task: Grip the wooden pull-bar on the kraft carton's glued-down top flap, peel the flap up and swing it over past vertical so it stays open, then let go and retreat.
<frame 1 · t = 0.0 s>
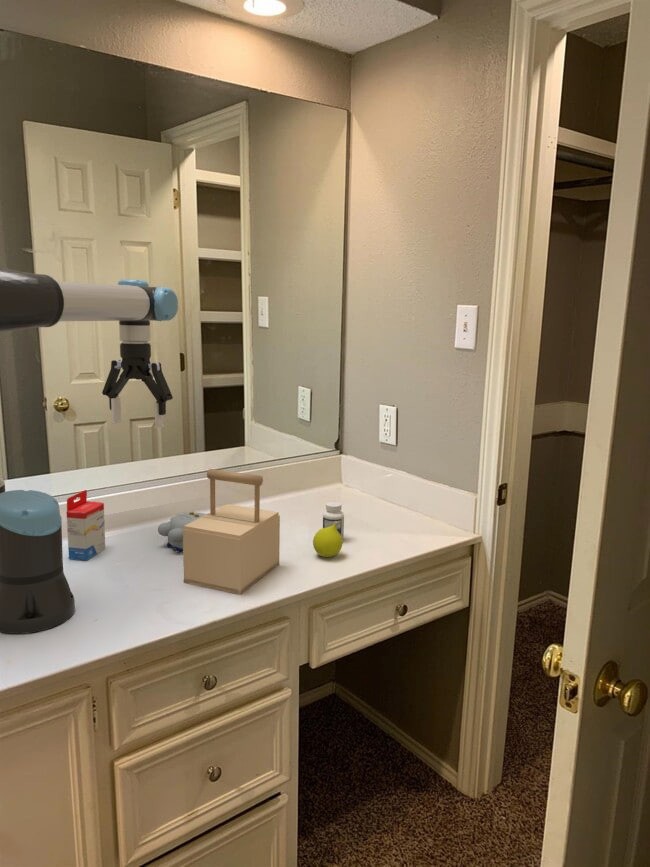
hand: (137, 425, 169), 28 cm above the worktop, fingers open, 13 cm apart
pill bottle: (332, 540, 170), on the worktop
ornament: (327, 557, 159), on the worktop
carton: (233, 573, 147), on the worktop
ink box: (87, 554, 156), on the worktop
figurine: (201, 544, 165), on the worktop
flap: (242, 493, 147), point 18 cm above the worktop, hinge at 0.0°
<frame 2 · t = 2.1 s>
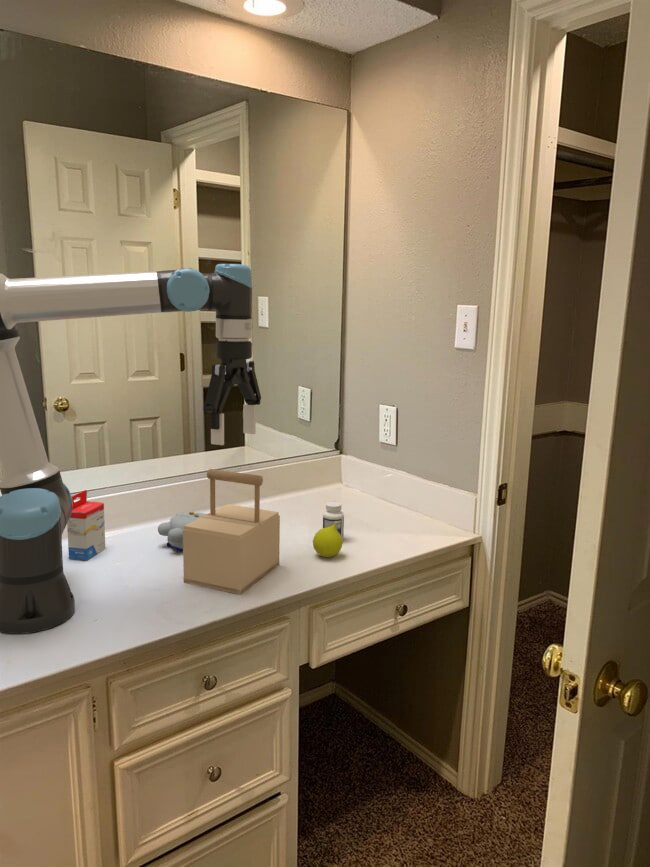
hand: (234, 438, 142), 31 cm above the worktop, fingers open, 13 cm apart
nothing on the worktop moved.
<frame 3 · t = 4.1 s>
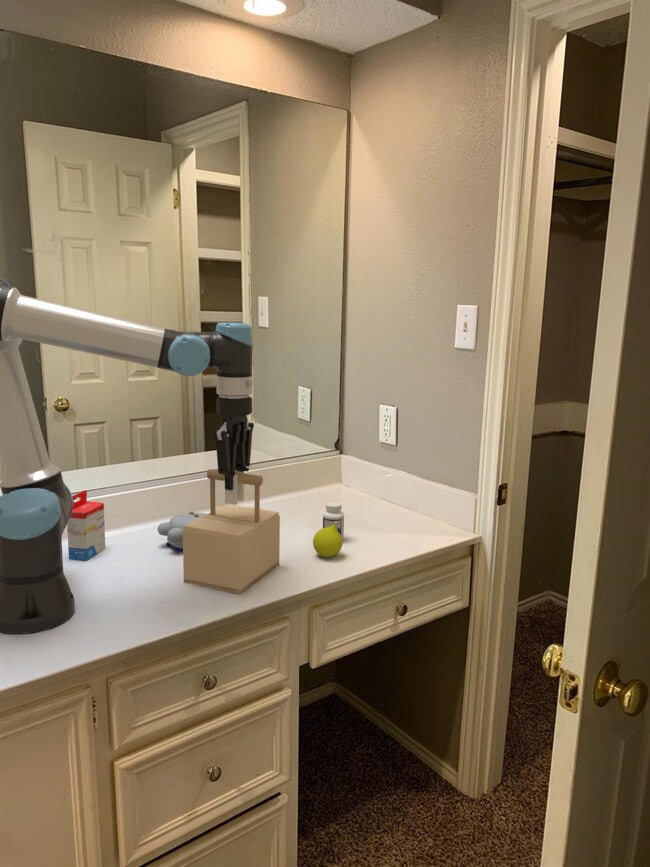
hand: (234, 501, 144), 17 cm above the worktop, fingers closed on flap, 2 cm apart
flap: (242, 493, 147), point 18 cm above the worktop, hinge at 0.0°, touching gripper
everything else where it was.
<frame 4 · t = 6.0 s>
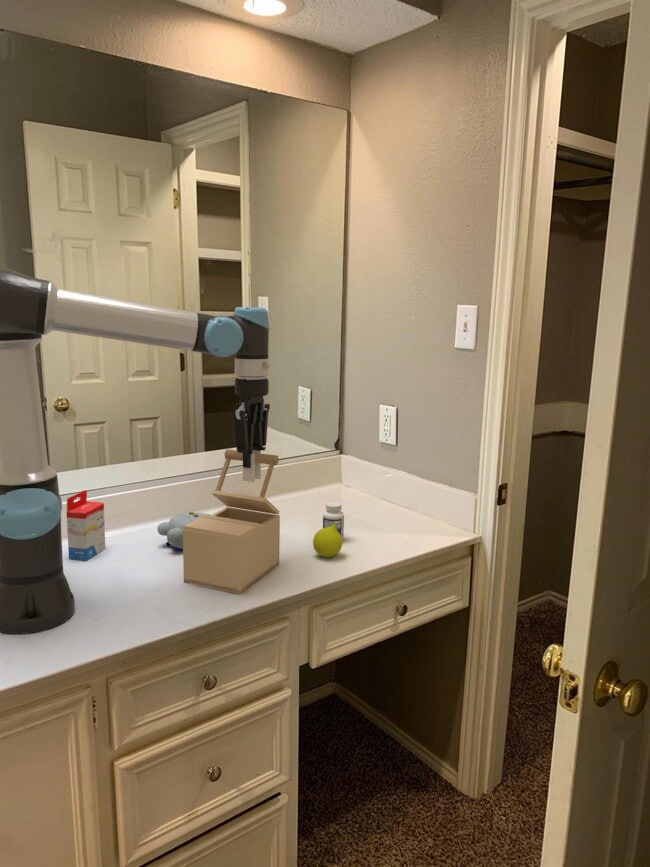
hand: (251, 479, 150), 20 cm above the worktop, fingers closed on flap, 2 cm apart
flap: (251, 481, 151), point 19 cm above the worktop, hinge at 35.8°, touching gripper
everything else where it was.
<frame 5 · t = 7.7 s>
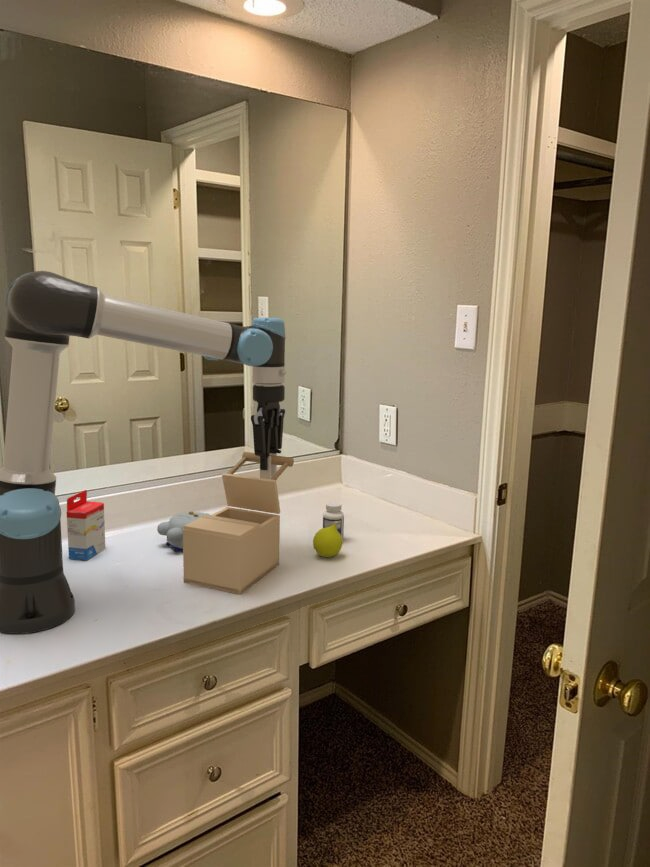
hand: (268, 480, 158), 18 cm above the worktop, fingers closed on flap, 2 cm apart
flap: (261, 481, 155), point 18 cm above the worktop, hinge at 73.1°, touching gripper
everything else where it was.
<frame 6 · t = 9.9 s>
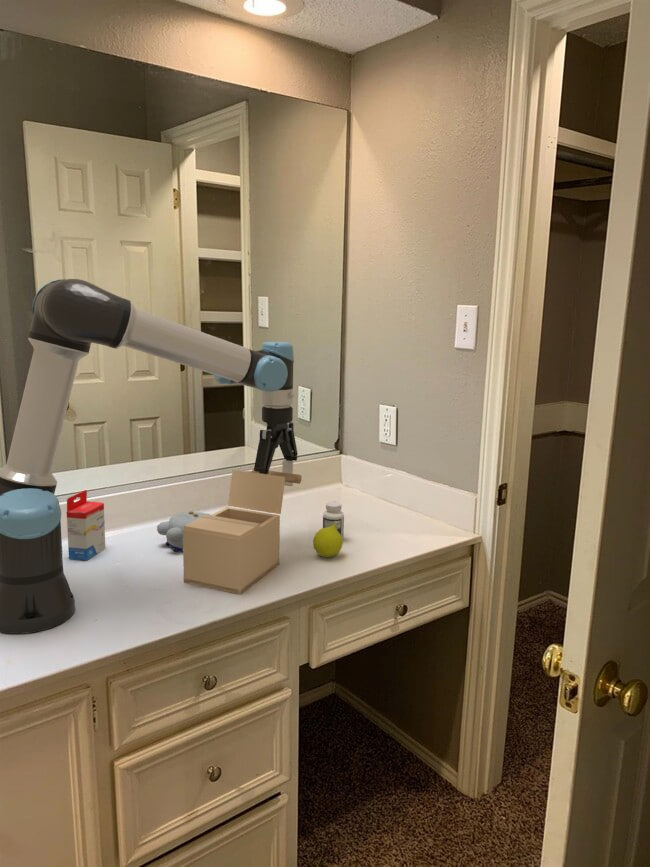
hand: (276, 491, 164), 14 cm above the worktop, fingers open, 12 cm apart
flap: (266, 490, 158), point 15 cm above the worktop, hinge at 104.0°, touching gripper
everything else where it was.
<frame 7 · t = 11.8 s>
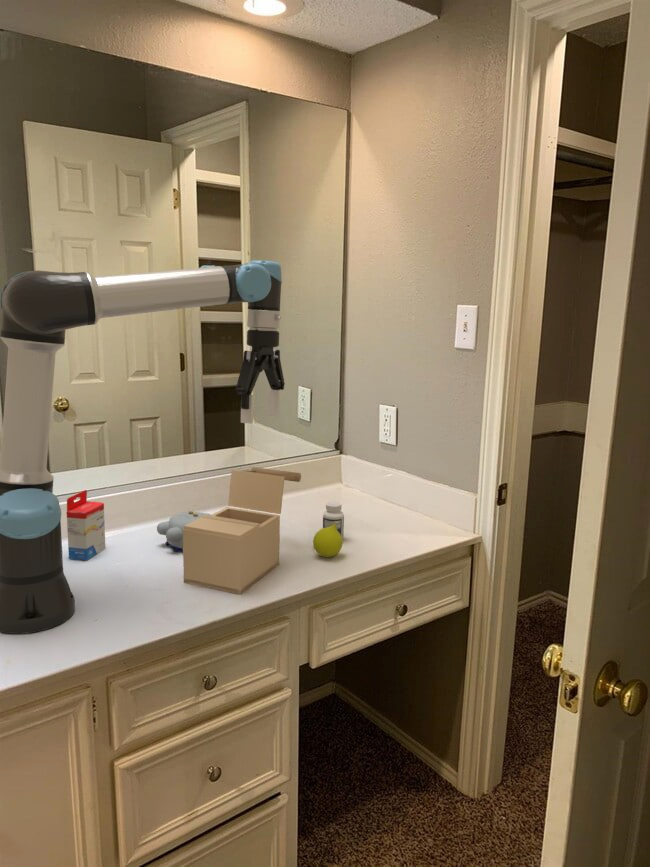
hand: (260, 419, 156), 32 cm above the worktop, fingers open, 13 cm apart
flap: (266, 489, 158), point 16 cm above the worktop, hinge at 101.6°
everything else where it was.
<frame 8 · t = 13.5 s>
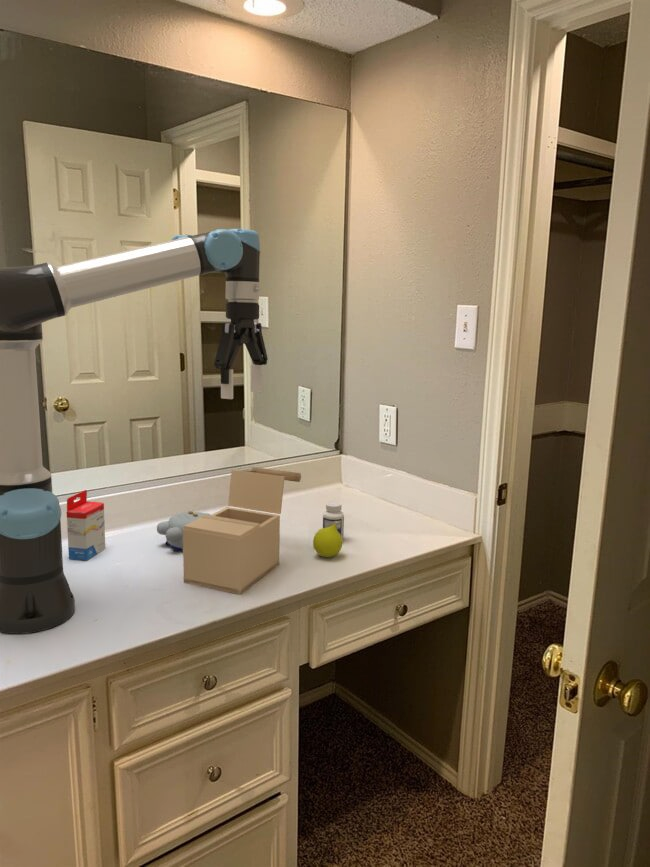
hand: (242, 395, 151), 39 cm above the worktop, fingers open, 13 cm apart
nothing on the worktop moved.
at the end: flap at +102° (first picture: +0°); the gripper is holding nothing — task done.
